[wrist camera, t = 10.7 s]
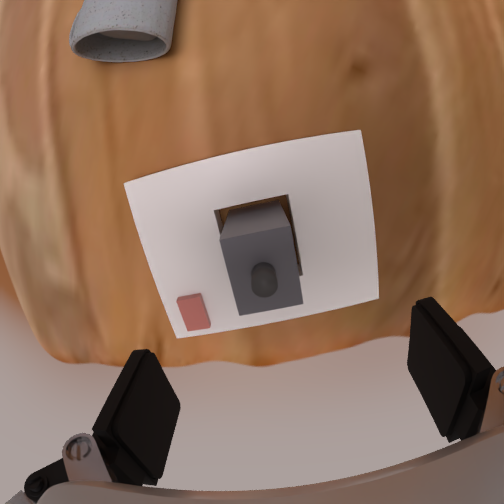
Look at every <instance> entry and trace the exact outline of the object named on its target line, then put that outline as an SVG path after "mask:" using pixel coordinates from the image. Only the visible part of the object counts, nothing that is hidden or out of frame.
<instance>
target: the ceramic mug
mask: <svg viewBox="0 0 504 504" xmlns="http://www.w3.org/2000/svg"><path fill="white" fill-rule="evenodd" d="M177 1H178V0H84V3H83V6H82V8H81V10H80V11H79V13H78V14H77V16H76V18H75V20H74V22H73V25H72V28H71V31H70V37H69V43H70V46H71V49H72V51H73V52H74V53H75V54H77V55H78V56H80V57H83V58H86V59H91V60H96V61H104V62H135V61H143V60H148V59H154V58H157V57H159V56H162V55H164V54H166V53H167V52H168V51H169V49H170V48H171V43H172V36H173V28H174V21H175V15H176V8H177Z"/></svg>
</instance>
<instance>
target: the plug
mask: <svg viewBox="0 0 504 504" xmlns="http://www.w3.org/2000/svg"><path fill="white" fill-rule="evenodd" d="M219 241H220V245H221V249H222V253H223V256H224V260H225V264H226V268H227V272H228V276H229V279H230V283H231V287H232V291H233V295H234V298H235V302H236V306H237V309H238V313H239V316H242V315H248V314H253V313H259V312H264V311H270V310H275V309H280V308H286V307H291V306H296V305H301V304H303V297H302V291H301V284H300V278H299V272H298V266H297V260H296V254H295V248H294V242H293V236H292V231H291V225H290V223H289V221H288V219H287V217H286V215H285V213H284V210H283V208H282V206H281V204H280V202H279V200H275V201H270V202H265V203H260V204H255V205H250V206H245V207H241V208H236V209H231V210H229V213H228V216H227V219H226V222H225V224H224V227H223V230H222V233H221V236H220V239H219Z"/></svg>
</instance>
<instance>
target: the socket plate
mask: <svg viewBox="0 0 504 504" xmlns="http://www.w3.org/2000/svg"><path fill="white" fill-rule="evenodd" d="M124 186H125V190H126V194H127V197H128V201H129V204H130V208H131V211H132V214H133V218H134V221H135V224H136V227H137V231H138V234H139V237H140V240H141V243H142V246H143V249H144V252H145V255H146V258H147V261H148V264H149V267H150V269H151V272H152V275H153V278H154V281H155V283H156V286H157V289H158V292H159V294H160V297H161V299H162V302H163V305H164V307H165V310H166V312H167V315H168V317H169V320H170V322H171V325H172V327H173V330H174V332H175V335H176V337H177V338H184V337H191V336H198V335H204V334H211V333H217V332H223V331H229V330H235V329H241V328H247V327H252V326H258V325H263V324H268V323H273V322H279V321H284V320H289V319H293V318H298V317H303V316H308V315H312V314H317V313H321V312H326V311H330V310H334V309H339V308H343V307H347V306H351V305H355V304H359V303H363V302H367V301H371V300H375V299H379V285H378V264H377V249H376V237H375V226H374V216H373V207H372V199H371V191H370V183H369V176H368V170H367V163H366V157H365V151H364V145H363V140H362V135H361V130H354V131H346V132H339V133H332V134H325V135H319V136H313V137H307V138H301V139H295V140H290V141H285V142H279V143H274V144H269V145H264V146H260V147H255V148H250V149H246V150H241V151H237V152H233V153H228V154H224V155H220V156H216V157H212V158H208V159H204V160H200V161H196V162H193V163H189V164H185V165H182V166H178V167H174V168H171V169H168V170H164V171H161V172H157V173H154V174H151V175H147V176H144V177H141V178H138V179H135V180H132V181H129V182H126V183H124ZM281 195H286V198H287V203H288V208H289V213H290V218H291V223H292V228H293V234H294V239H295V244H296V250H297V255H298V261H299V264H297V266H298V272H299V278H300V284H301V291H302V297H303V304H301V305H296V306H291V307H286V308H280V309H275V310H270V311H264V312H259V313H253V314H248V315H242V316H239V313H238V309H237V306H236V302H235V298H234V295H233V291H232V287H231V283H230V279H229V276H228V272H227V268H226V264H225V260H224V256H223V253H222V249H221V245H220V241H219V239H220V236H221V233H222V230H223V224H222V221H221V217H220V213H219V209H221V208H226V207H230V206H235V205H239V204H244V203H248V202H253V201H257V200H262V199H267V198H271V197H276V196H281Z"/></svg>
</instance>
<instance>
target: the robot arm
mask: <svg viewBox="0 0 504 504" xmlns="http://www.w3.org/2000/svg"><path fill="white" fill-rule="evenodd" d="M407 365H408V370H409V372H410V374H411V376H412V378H413V380H414V381H415V383H416V385H417V387H418V389H419V391H420V393H421V395H422V397H423V399H424V401H425V403H426V405H427V407H428V409H429V411H430V413H431V415H432V417H433V419H434V422H435V424H436V426H437V428H438V430H439V432H440V434H441V436H442V437H445V436H446V437H447V440H448V442H449V443H450V442H452V441H454V440H457V439H459V438H460V439H461V441H459V442H457V443H455V444H452V445H450V446H447V447H445V448H442V449H440V450H437V451H435V452H432V453H430V454H427V455H424V456H421V457H418V458H415V459H412V460H409V461H406V462H403V463H400V464H397V465H394V466H390V467H387V468H384V469H380V470H376V471H373V472H369V473H365V474H361V475H357V476H352V477H348V478H343V479H338V480H333V481H328V482H322V483H316V484H310V485H303V486H296V487H287V488H277V489H266V490H249V491H191V490H175V489H164V488H153V487H143V486H142V485H143V484H146V485H154V486H156V485H157V482H158V479H160V478H161V477H162V475H163V472H164V467H165V464H166V460H167V456H168V452H169V449H170V445H171V441H172V437H173V434H174V430H175V426H176V423H177V419H178V415H179V411H180V402H179V399H178V398H177V396H176V394H175V393H174V390H173V388H172V386H171V385H170V383H169V381H168V379H167V377H166V375H165V373H164V371H163V369H162V367H161V365H160V363H159V361H158V359H157V357H156V355H155V354H154V353H151V352H150V350H148V349H143V350H134V351H133V352H132V353H131V355H130V357H129V359H128V360H127V362H126V364H125V366H124V368H123V370H122V372H121V374H120V375H119V377H118V379H117V381H116V383H115V385H114V387H113V388H112V390H111V392H110V394H109V396H108V398H107V400H106V402H105V404H104V406H103V408H102V410H101V412H100V414H99V416H98V418H97V420H96V422H95V424H94V426H93V428H92V430H93V431H94V433H93V435H92V436H91V435H90V434H86V433H80V434H77V435H74V436H73V437H71V438H70V439H69V440H68V441H67V442H66V443H65V445H64V446H63V450H62V456H63V458H62V459H60V460H58V461H56V462H54V463H52V464H50V465H48V466H46V467H44V468H42V469H40V470H38V471H36V472H34V473H33V474H31V475H30V476H29V477H28V478H27V480H26V482H25V485H24V490H25V492H23V491H19V492H18V493H17V494H16V495H15V496H14V497H12V498H11V499H10V500H9V501H8V502H6V503H5V504H504V367H501V368H500V369H498V370H495V368H494V367H493V366H492V365H491V363H490V362H489V361H488V360H487V359H486V357H485V356H484V355H483V353H482V352H481V351H480V350H479V348H478V347H477V346H476V345H475V344H474V342H473V341H472V340H471V339H470V338H469V336H468V335H467V334H466V333H465V332H464V331H463V329H462V328H461V327H459V326H458V325H457V324H456V323H455V322H454V320H453V319H452V318H451V317H450V316H449V315H448V314H447V312H446V311H445V310H444V309H443V308H442V307H441V306H440V305H439V304H438V303H437V301H436V300H435V299H434V298H433V297H428V298H424V299H421V300H418V301H416V305H414V306H413V307H412V313H411V329H410V341H409V351H408V360H407Z"/></svg>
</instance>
